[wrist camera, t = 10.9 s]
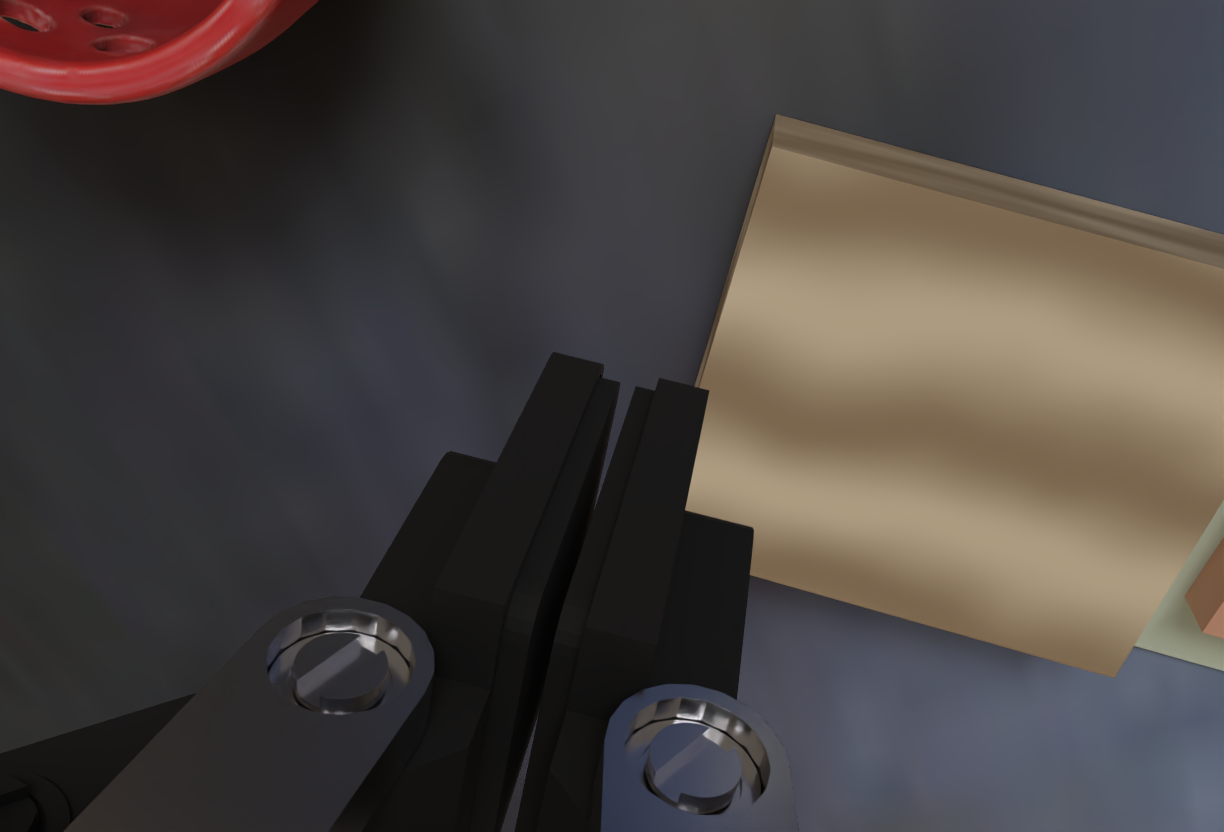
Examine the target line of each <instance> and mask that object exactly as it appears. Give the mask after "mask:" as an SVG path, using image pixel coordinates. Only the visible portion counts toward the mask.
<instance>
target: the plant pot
mask: <svg viewBox="0 0 1224 832" xmlns="http://www.w3.org/2000/svg"><path fill="white" fill-rule="evenodd" d="M318 1H319V0H0V88H1V89H4V90H7V91H10V92H14V93H17V94H21V95H25V96H29V97H32V98H38V99H43V100H48V101H54V102H60V103H69V104H83V105H111V104H120V103H130V102H136V101H142V100H147V99H152V98H155V97H159V96H163V95H166V94H168V93H171V92H174V91H176V90H179V89H182V88H184V87H187V86H189V85H191V84H194V83H196V82H198V81H200V80H202V79H204V78H206V77H208V76H211V75H213V74H215V73H217V72H219V71H221V70H223V69H225V68H227V67H229V66H231V65H233V64H235V63H237V62H239V61H241V60H243V59H244V58H246V57H248V56H249V55H251V54H253V53H255V52H256V51H258V50H260V49H261V48H263V47H264V46H265V45H267V44H268V43H270V42H271V41H273V40H274V39H275V38H276V37H278V36H279V35H280V34H281V33H283V32H284V31H285V30H286V29H288V28H289V27H290V26H291V25H292V24H293V23H294V22H295V21H297V20H298V19H299V18H300V17H301V16H302V15H303V14H304V13H305V12H306V11H307V10H309V9H310V8H311V7H312V6H313V5H315V4H316V3H317V2H318ZM1 16H2V17H1ZM3 17H9V18H13V19H16V20H18V21H21V22H23V23H26V24H28V25H31V26H32V27H34V28H36V29H37V30H39V31H29V30H25V29H22V28H19V27H17V26H15V25H13V24H12V23H10V22H9V21H7V20H6V19H4V18H3ZM93 24H101V25H106V26H110V27H114V28H104V27H99V26H96V25H93Z"/></svg>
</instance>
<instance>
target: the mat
mask: <svg viewBox="0 0 1224 832" xmlns="http://www.w3.org/2000/svg"><path fill="white" fill-rule="evenodd" d="M1223 537H1224V500H1223V502H1222V504H1221V505H1220V507H1219V508H1218V510H1217V512H1216V513H1215V515H1214V517H1213V518H1212V520H1211V521H1210V523H1209V525H1208V526H1207V528H1206V530H1205V531H1204V533H1203V534H1202V536H1201V538H1200V539H1199V541H1198V543H1197V544H1196V546H1195V547H1194V549H1193V551H1192V552H1191V554H1190V556H1189V557H1188V559H1187V560H1186V562H1185V564H1184V565H1183V567H1182V569H1181V570H1180V572H1179V574H1178V575H1177V577H1176V578H1175V580H1174V582H1173V583H1172V585H1171V587H1170V588H1169V590H1168V591H1167V593H1166V595H1165V596H1164V598H1163V600H1162V601H1161V603H1160V604H1159V606H1158V608H1157V609H1156V611H1155V613H1154V614H1153V616H1152V617H1151V619H1150V621H1149V622H1148V624H1147V626H1146V627H1145V629H1144V630H1143V632H1142V634H1141V635H1140V637H1139V639H1138V640H1137V642H1136V644H1135V645H1134V646H1137V647H1140V648H1144V649H1147V650H1151V651H1154V652H1158V653H1161V654H1165V655H1168V656H1172V657H1176V658H1179V659H1183V660H1186V661H1190V662H1193V663H1197V664H1200V665H1204V666H1207V667H1211V668H1215V669H1218V670H1222V671H1224V639H1223V638H1219V637H1216V636H1213V635H1209V634H1206V633H1203V632H1202V631H1201V629H1200V627H1199V625H1198V623H1197V620H1196V618H1195V616H1194V614H1193V612H1192V610H1191V608H1190V606H1189V604H1188V602H1187V600H1186V598H1185V595H1186V594H1187V592H1188V591H1189V589H1190V587H1191V586H1192V584H1193V583H1194V581H1195V580H1196V578H1197V577H1198V575H1199V574H1200V572H1201V571H1202V569H1203V568H1204V566H1205V565H1206V563H1207V562H1208V560H1209V559H1210V557H1211V556H1212V554H1213V553H1214V551H1215V550H1216V548H1217V547H1218V545H1219V544H1220V542H1221V541H1222V539H1223Z"/></svg>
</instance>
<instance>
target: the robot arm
mask: <svg viewBox="0 0 1224 832" xmlns="http://www.w3.org/2000/svg"><path fill="white" fill-rule="evenodd" d="M603 370H604V364H600V363H596V362H592V361H588V360H584V359H580V358H576V357H572V356H567V355H563V354H559V353H555V352H553V353H552V354H551V356H550V358H549V360H548V362H547V364H546V366H545V368H544V370H543V372H542V374H541V376H540V378H539V380H538V382H537V384H536V386H535V388H534V390H533V392H532V394H531V396H530V398H529V400H528V402H527V404H526V406H525V408H524V410H523V412H522V413H521V415H520V417H519V419H518V421H517V423H516V425H515V427H514V429H513V431H512V433H511V435H510V437H509V439H508V441H507V443H506V445H505V447H504V449H503V451H502V453H501V455H500V457H499V459H498V461H497V463H496V462H492V461H488V460H484V459H480V458H476V457H472V456H468V455H464V454H460V453H456V452H452V451H450V452H447V453H446V454H445V456H444V457H443V458H442V460H441V461H440V463H439V464H438V466H437V468H436V469H435V471H434V473H433V474H432V476H431V478H430V480H429V481H428V483H427V485H426V486H425V488H424V490H423V491H422V493H421V495H420V497H419V498H418V500H417V502H416V503H415V505H414V507H413V508H412V510H411V512H410V513H409V515H408V517H407V519H406V520H405V522H404V524H403V525H402V527H401V529H400V530H399V532H398V534H397V535H396V537H395V539H394V541H393V542H392V544H391V546H390V547H389V549H388V551H387V552H386V554H385V556H384V557H383V559H382V561H381V563H380V564H379V566H378V568H377V569H376V571H375V573H374V574H373V576H372V578H371V579H370V581H369V583H368V585H367V586H366V588H365V590H364V591H363V593H362V595H361V596H360V598H354V597H329V598H323V599H317V600H311V601H305V602H303V603H301V604H298V605H296V606H293V607H291V608H288V609H286V610H284V611H281V612H280V613H278V614H277V615H276V616H274V617H273V618H272V619H271V620H269V621H268V622H267V623H265V624H264V625H263V626H261V627H260V628H259V629H258V630H257V631H256V632H255V633H254V634H253V636H252V637H251V638H250V639H249V640H248V641H247V642H246V643H245V644H244V645H243V646H242V647H241V648H240V649H239V650H238V651H237V652H236V653H235V654H234V655H233V656H232V657H231V658H230V659H229V660H228V661H227V662H226V663H225V665H224V666H223V667H222V668H221V669H220V670H219V671H218V672H217V673H216V674H215V675H214V676H213V677H212V678H211V679H210V680H209V681H208V682H207V683H206V684H205V685H204V686H203V687H202V688H201V689H200V690H199V691H198V693H195V694H192V695H188V696H185V697H182V698H179V699H175V700H172V701H169V702H166V703H162V704H159V705H156V706H153V707H149V708H146V709H143V710H140V711H137V712H133V713H130V714H127V715H124V716H120V717H117V718H114V719H111V720H107V721H104V722H101V723H98V724H95V725H91V726H88V727H85V728H82V729H78V730H75V731H72V732H69V733H65V734H62V735H59V736H56V737H52V738H49V739H46V740H43V741H40V742H36V743H33V744H30V745H27V746H23V747H20V748H17V749H14V750H10V751H7V752H4V753H1V754H0V832H500V831H501V828H502V825H503V822H504V819H505V816H506V813H507V809H508V806H509V803H510V800H511V797H512V794H513V791H514V788H515V785H516V781H517V778H518V775H519V772H520V769H521V766H522V763H523V760H524V756H525V753H526V750H527V747H528V744H529V741H530V738H531V735H532V731H533V728H534V725H535V722H536V719H537V716H538V720H537V725H536V730H535V735H534V740H533V744H532V749H531V754H530V759H529V764H528V769H527V774H526V779H525V784H524V789H523V794H522V798H521V803H520V808H519V813H518V818H517V823H516V828H515V832H799V828H798V821H797V814H796V807H795V800H794V793H793V786H792V779H791V772H790V766H789V763H788V760H787V757H786V754H785V751H784V748H783V745H782V743H781V742H780V740H779V739H778V737H777V736H776V735H775V733H774V732H773V730H772V729H771V727H770V726H769V725H768V723H767V722H766V721H765V720H763V719H762V718H761V717H760V716H759V715H757V714H756V713H755V712H754V711H753V710H751V709H750V708H749V707H748V706H747V705H745V704H743V703H741V702H740V701H738V700H737V692H738V683H739V673H740V664H741V654H742V645H743V635H744V626H745V616H746V607H747V597H748V587H749V578H750V568H751V559H752V549H753V540H754V529H753V527H750V526H746V525H742V524H738V523H734V522H730V521H726V520H722V519H718V518H714V517H710V516H706V515H702V514H698V513H694V512H690V511H686V510H685V508H686V503H687V498H688V493H689V488H690V483H691V479H692V474H693V469H694V464H695V459H696V454H697V449H698V445H699V440H700V435H701V430H702V425H703V420H704V415H705V410H706V406H707V401H708V396H709V390H706V389H702V388H698V387H694V386H690V385H686V384H682V383H678V382H674V381H669V380H665V379H661V378H659V380H658V383H657V387H656V390H655V391H653V390H649V389H645V388H641V387H637V386H636V388H635V390H634V393H633V396H632V399H631V402H630V405H629V408H628V411H627V414H626V417H625V420H624V423H623V426H622V429H621V432H620V435H619V438H618V441H617V444H616V447H615V450H614V453H613V456H612V459H611V462H610V465H609V468H608V471H607V474H606V477H605V480H604V483H603V486H602V489H601V492H600V495H599V498H598V501H597V504H596V507H595V503H596V498H597V493H598V488H599V484H600V479H601V474H602V470H603V465H604V460H605V455H606V451H607V446H608V441H609V437H610V432H611V427H612V422H613V418H614V413H615V408H616V404H617V399H618V394H619V388H620V382H616V381H612V380H608V379H604V378H602V377H603ZM594 507H595V510H594ZM593 512H594V514H593ZM538 713H539V715H538Z"/></svg>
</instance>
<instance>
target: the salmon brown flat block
mask: <svg viewBox="0 0 1224 832" xmlns="http://www.w3.org/2000/svg"><path fill="white" fill-rule="evenodd" d="M1185 598H1186V600H1187V602H1188V604H1189V606H1190V608H1191V610H1192V612H1193V614H1194V616H1195V618H1196V620H1197V623H1198V625H1199V627H1200V629H1201V631H1202V632H1203V633H1206V634H1209V635H1213V636H1216V637H1219V638H1223V639H1224V537H1223V539H1222V541H1221V542H1220V544H1219V545H1218V547H1217V548H1216V550H1215V551H1214V553H1213V554H1212V556H1211V557H1210V559H1209V560H1208V562H1207V563H1206V565H1205V566H1204V568H1203V569H1202V571H1201V572H1200V574H1199V575H1198V577H1197V578H1196V580H1195V581H1194V583H1193V584H1192V586H1191V587H1190V589H1189V591H1188V592H1187V594H1186V595H1185Z"/></svg>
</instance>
